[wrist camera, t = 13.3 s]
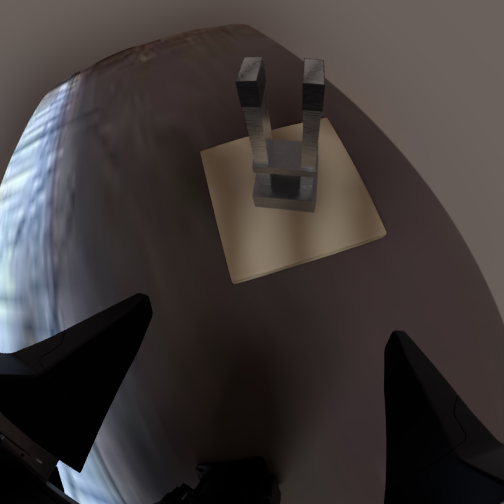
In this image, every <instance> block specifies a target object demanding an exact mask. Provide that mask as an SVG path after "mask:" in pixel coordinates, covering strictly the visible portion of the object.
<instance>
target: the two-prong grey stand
mask: <svg viewBox="0 0 504 504" xmlns="http://www.w3.org/2000/svg"><path fill="white" fill-rule="evenodd" d="M235 82H236V86H237V90H238V95H239V99H240V103H241V107H243V111H244V116H245V120H246V125H247V129H248V134H249V139H250V143H251V148H252V153H253V157H254V159H253V164H252V169H253V172H254V173H256V178H255V183H254V189H253V195H252V197H253V201H254V205H255V207H264V208H274V209H284V210H294V211H303V212H312V213H314V211H315V206H316V196H317V179H318V158H319V155H318V144H319V143H318V139H319V130H320V120H321V112H322V110H323V100H324V89H325V75H324V60H318V59H307V58H304V69H303V100H302V110H303V136H302V141H292V140H278V139H272V134H271V125H270V116H269V108H268V99H267V91H266V76H265V68H264V61H263V57H244V58H243V61H242V64H241V67H240V69H239V72H238V75H237V78H236V81H235Z"/></svg>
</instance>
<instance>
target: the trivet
mask: <svg viewBox="0 0 504 504" xmlns="http://www.w3.org/2000/svg"><path fill="white" fill-rule="evenodd" d="M271 134H272V139H278V140H292V141H302V136H303V123H299V124H295V125H290V126H286V127H282V128H278V129H274V130H271ZM318 143H319V144H318V155H319V158H318V179H317V196H316V206H315V211H314V213H312V212H303V211H294V210H284V209H274V208H264V207H255V205H254V201H253V197H252V195H253V189H254V183H255V178H256V173H254V172H253V169H252V164H253V159H254V157H253V153H252V148H251V143H250V139H249V136H248V137H245V138H241V139H238V140H234V141H231V142H228V143H225V144H222V145H218V146H215V147H212V148H209V149H206V150H203V151H200V153H201V157H202V162H203V166H204V170H205V175H206V179H207V183H208V188H209V192H210V196H211V200H212V204H213V208H214V213H215V217H216V221H217V225H218V229H219V233H220V237H221V241H222V245H223V249H224V253H225V257H226V261H227V265H228V268H229V272H230V276H231V280H232V282H233V283H234V284H237V283H241V282H244V281H248V280H251V279H254V278H258V277H261V276H264V275H268V274H271V273H274V272H278V271H281V270H284V269H287V268H291V267H294V266H297V265H300V264H304V263H307V262H310V261H313V260H316V259H319V258H323V257H326V256H329V255H332V254H335V253H338V252H341V251H344V250H347V249H350V248H353V247H357V246H360V245H363V244H366V243H369V242H372V241H375V240H378V239H381V238H383V237H384V236H385V235H386V231H385V228H384V226H383V224H382V221H381V219H380V217H379V215H378V212H377V210H376V208H375V206H374V204H373V202H372V200H371V197H370V195H369V193H368V191H367V189H366V187H365V185H364V183H363V181H362V179H361V177H360V175H359V173H358V171H357V169H356V168H355V166H354V164H353V162H352V160H351V158H350V156H349V155H348V153H347V151H346V149H345V147H344V146H343V144H342V142H341V141H340V139H339V137H338V135H337V134H336V132H335V130H334V129H333V127H332V125H331V124H330V122H329V120H328V119H327V118H323V119H321V120H320V130H319V139H318Z"/></svg>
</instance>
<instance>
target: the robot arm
mask: <svg viewBox="0 0 504 504" xmlns="http://www.w3.org/2000/svg"><path fill="white" fill-rule="evenodd" d="M152 314H153V311H152V307H151V303H150V299H149V297H148V295H145V294H141V293H138V294H135V295H133V296H131V297H129V298H127V299H125V300H123V301H121V302H119V303H117V304H115V305H113V306H111V307H109V308H107V309H105V310H103V311H101V312H99V313H97V314H95V315H93V316H91V317H90V318H88V319H86V320H84V321H82V322H80V323H78V324H76V325H74V326H72V327H70V328H68V329H66V330H64V331H62V332H60V333H58V334H56V335H54V336H52V337H50V338H48V339H45V340H43V341H41V342H39V343H36V344H34V345H31V346H29V347H27V348H24V349H22V350H19V351H17V352H14V353H0V504H79V503H78V502H76V501H75V500H73V499H72V498H70V497H69V496H68V495H66V494H65V493H64V492H65V491H64V488H63V485H62V482H61V478H60V475H59V471H58V468H57V466H56V465H57V463H58V461H59V460H60V461H62V462H63V463H65V464H66V465H68V466H69V467H71V468H73V469H74V470H76V471H77V472H79V473H80V472H81V471H82V469H83V466H84V464H85V461H86V459H87V457H88V454H89V452H90V450H91V447H92V445H93V443H94V441H95V438H96V436H97V434H98V431H99V429H100V427H101V425H102V423H103V421H104V418H105V416H106V414H107V412H108V410H109V408H110V406H111V404H112V402H113V399H114V397H115V395H116V393H117V391H118V389H119V387H120V385H121V383H122V381H123V379H124V377H125V375H126V373H127V371H128V369H129V367H130V365H131V364H132V362H133V360H134V358H135V356H136V354H137V352H138V350H139V348H140V345H141V343H142V341H143V338H144V336H145V333H146V331H147V328H148V326H149V323H150V321H151V318H152ZM384 396H385V412H386V485H385V489H386V490H385V498H384V504H504V444H503V443H501V442H499V441H498V440H497V439H496V438H495V437H494V436H493V435H492V434H491V432H490V431H489V430H488V429H487V428H486V427H485V426H484V425H483V424H482V423H481V421H480V420H479V419H478V418H477V417H476V416H475V415H474V414H473V413H472V411H471V410H470V409H469V408H468V407H467V405H466V404H465V403H464V402H463V400H462V399H461V398H460V396H459V395H457V393H456V392H455V390H454V389H453V388H452V387H451V385H450V384H449V383H448V382H447V380H446V379H445V378H444V377H443V375H442V374H441V373H440V372H439V371H438V369H437V368H436V367H435V366H434V365H433V363H432V362H431V361H430V360H429V359H428V358H427V356H426V355H425V354H424V353H423V352H422V351H421V349H420V348H419V347H418V346H417V345H416V344H415V343H414V341H413V340H412V339H411V338H410V337H409V336H408V335H407V334H406V332H404V331H398V330H395V331H393V332H392V334H391V336H390V338H389V340H388V342H387V344H386V346H385V351H384ZM257 461H261V462H262V463H257ZM200 468H202V469H203V470H201V469H200ZM195 469H196V472H197V474H198V477H199V479H200V482H199V484H198V485H197V487H196V488H195V489H192V488H190V486H188V485H186V484H184V483H183V484H182V485H181V486H180V487H176V488H175V489H174V490H173V491H172V492H171V493H167V494H166V495H165V496H164V497H163V498H162V499H161V500H160V501H159V502H157V503H154V504H280V495H281V493H280V490H279V487H278V484H277V482H276V479H275V476H274V475H273V474H270V473H269V470H268V468H267V465H266V462H265V460H264V458H262V457H255V458H248V459H242V460H234V461H226V462H217V463H205V464H198V465H197V466H196V468H195Z"/></svg>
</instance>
